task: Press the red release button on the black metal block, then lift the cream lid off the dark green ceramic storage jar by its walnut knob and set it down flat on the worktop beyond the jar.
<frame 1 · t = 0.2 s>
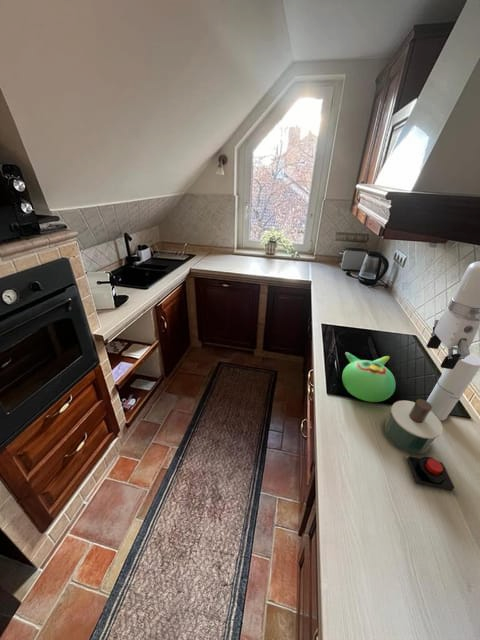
hand: (438, 357, 77), 26 cm above the worktop, tool pointing down, fingers open, 9 cm apart
toy bird: (362, 392, 99), on the worktop
button: (433, 466, 70), point 4 cm above the worktop, slide at 0.1 cm
lid: (415, 418, 78), point 8 cm above the worktop, touching jar
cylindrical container: (434, 412, 92), on the worktop
jar: (405, 435, 83), on the worktop
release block: (428, 474, 72), on the worktop
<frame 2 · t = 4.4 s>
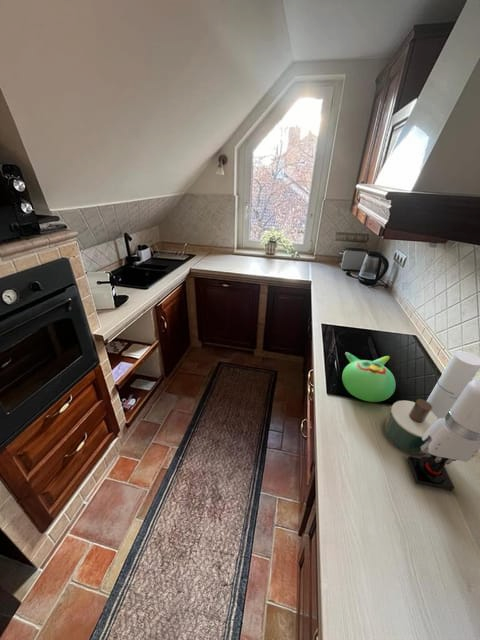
hand: (432, 466, 70), 4 cm above the worktop, tool pointing down, fingers closed
button: (432, 468, 71), point 3 cm above the worktop, slide at -0.9 cm, touching gripper
everything else where it was.
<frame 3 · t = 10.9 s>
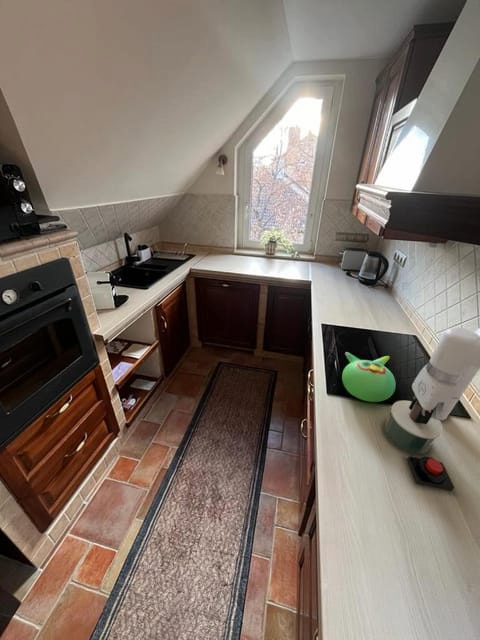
hand: (417, 415, 78), 10 cm above the worktop, tool pointing down, fingers closed on lid, 4 cm apart
button: (433, 466, 70), point 4 cm above the worktop, slide at 0.1 cm
lid: (415, 418, 78), point 9 cm above the worktop, touching gripper, jar
everything else where it was.
when the fingers open (2 cm above the worktop, at t = 19.5 s): lid stays where it is, point 1 cm above the worktop.
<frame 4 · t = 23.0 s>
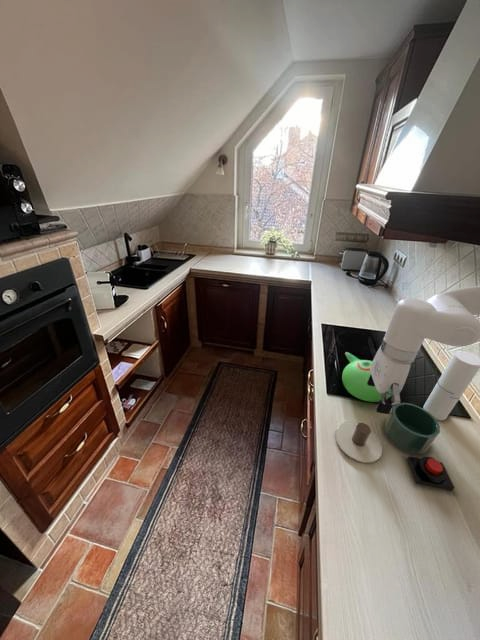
hand: (377, 398, 70), 20 cm above the worktop, tool pointing down, fingers open, 9 cm apart
lid: (357, 441, 80), point 1 cm above the worktop
everything else where it was.
at the end: button pushed in 1.1 cm at the most during the clip, back to where it started at the end; lid inside the target area (0.1 cm from its centre), point 0.6 cm above the worktop; lid tilted 0° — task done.
